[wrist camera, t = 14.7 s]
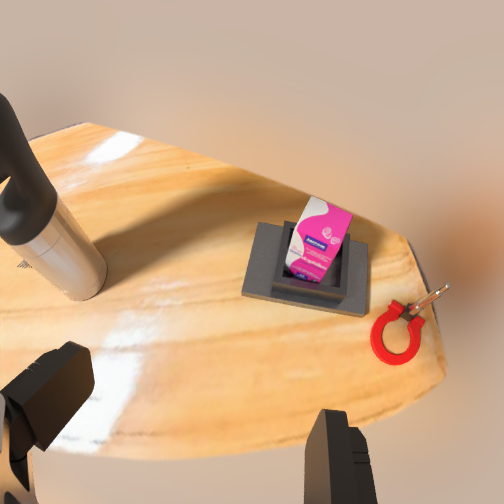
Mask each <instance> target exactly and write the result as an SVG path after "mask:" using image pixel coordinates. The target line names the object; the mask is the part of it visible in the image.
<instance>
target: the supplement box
mask: <svg viewBox="0 0 504 504" xmlns="http://www.w3.org/2000/svg"><path fill="white" fill-rule="evenodd" d="M352 218H353V215H352V214H350V213H348V212H346V211H344V210H342V209H340V208H338V207H336V206H333V205H331V204H329V203H327V202H325V201H323V200H320V199H318V198H316V197H314V196H311V198H310V200H309V201H308V203H307V205H306V207H305V209H304V211H303V213H302V215H301V217H300V219H299V221H298V223H297V225H296V227H295V229H294V232H293V236H292V239H291V243H290V247H289V250H288V254H287V257H286V261H285V264H284V268H283V271H286V272H288V273H290V274H293V275H295V276H297V277H299V278H301V279H303V280H305V281H307V282H312V283H317V284H320V282H321V281H322V279H323V277H324V275H325V274H326V272H327V270H328V268H329V267H330V265H331V263H332V262H333V260H334V258H335V256H336V254H337V253H338V251H339V248H340V246H341V244H342V242H343V239H344V237H345V235H346V232H347V230H348V228H349V225H350V223H351V220H352Z"/></svg>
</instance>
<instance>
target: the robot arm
mask: <svg viewBox="0 0 504 504" xmlns="http://www.w3.org/2000/svg"><path fill="white" fill-rule="evenodd" d="M9 176H11V178H10V180H9V182H8V183H7V185H6V187H5V188H4V190H3V191H2V193H1V195H0V237H1V238H2V239H3V240H4V241H5V242H6V243H7V244H8V245H9V246H10V247H11V248H12V249H13V250H14V251H16V252H17V253H18V254H19V255H20V256H21V257H22V258H23V259H24V260H25V261H26V262H27V263H29V264H30V265H31V266H32V267H33V268H34V269H35V270H36V271H37V272H39V273H40V274H41V275H42V276H43V277H44V278H45V279H47V280H48V281H49V282H50V283H51V284H52V285H54V286H55V287H56V288H57V289H58V290H59V291H61V292H62V293H63V294H64V295H66V296H67V297H68V298H70V299H72V300H74V301H83V300H87V299H89V298H91V297H92V296H94V295H95V294H96V293H97V292H98V291H99V290H100V289H101V287H102V286H103V284H104V282H105V279H106V275H107V265H106V262H105V260H104V258H103V256H102V255H101V254H100V252H99V251H98V250H97V248H96V247H95V246H94V244H93V243H92V242H91V240H90V239H89V238H88V236H87V235H86V234H85V232H84V231H83V229H82V228H81V227H80V225H79V224H78V222H77V221H76V220H75V218H74V217H73V215H72V214H71V212H70V211H69V210H68V208H67V207H66V205H65V204H64V202H63V201H62V199H61V198H60V196H59V195H58V193H57V192H56V190H55V188H54V187H53V185H52V184H51V182H50V181H49V179H48V178H47V176H46V174H45V173H44V171H43V169H42V168H41V166H40V164H39V163H38V161H37V159H36V157H35V156H34V154H33V152H32V150H31V148H30V146H29V144H28V141H27V140H26V137H25V135H24V133H23V131H22V128H21V126H20V124H19V121H18V119H17V117H16V115H15V113H14V110H13V108H12V107H11V105H10V103H9V101H8V100H7V99H6V98H5V97H4V96H3V95H2V94H1V93H0V184H1V183H2V182H3V181H4V180H6V179H7V178H8V177H9ZM94 384H95V380H94V374H93V368H92V362H91V355H90V351H89V349H88V348H86V347H83V346H81V345H79V344H76V343H74V342H72V341H68V342H67V343H65V344H64V345H63V346H62V347H61V348H59V349H58V350H57V349H54V350H52V351H49V352H47V353H44V354H43V355H42V356H40V357H39V358H38V359H37V360H36V361H35V362H34V363H32V364H31V365H30V366H28V367H27V369H25V370H24V371H23V372H21V373H20V374H19V375H18V376H17V377H16V378H15V379H13V380H12V381H11V382H10V383H9V384H8V385H7V386H5V387H4V388H3V389H2V390H1V391H0V504H39V503H38V502H37V499H36V495H35V488H34V479H33V470H32V469H33V468H32V454H31V450H30V449H31V448H32V447H33V445H35V446H36V447H38V448H39V449H41V450H42V451H44V452H45V450H46V449H47V448H48V447H49V445H50V444H51V443H52V442H53V440H54V439H55V438H56V437H57V435H58V434H59V433H60V432H61V430H62V429H63V428H64V427H65V425H66V424H67V423H68V422H69V421H70V419H71V418H72V417H73V416H74V415H75V413H76V412H77V411H78V410H79V408H80V407H81V406H82V405H83V404H84V402H85V401H86V400H87V399H88V398H89V396H90V395H91V394H92V392H93V389H94ZM304 504H378V503H377V498H376V492H375V486H374V480H373V474H372V469H371V465H370V458H369V454H368V447H367V442H366V439H365V437H364V436H363V434H362V433H361V431H360V430H359V429H358V427H349V426H348V420H347V414H346V412H345V411H338V410H328V409H322V410H321V411H320V413H319V415H318V417H317V420H316V422H315V424H314V426H313V428H312V430H311V433H310V435H309V437H308V439H307V443H306V448H305V481H304Z"/></svg>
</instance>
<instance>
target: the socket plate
mask: <svg viewBox="0 0 504 504" xmlns="http://www.w3.org/2000/svg"><path fill="white" fill-rule="evenodd" d="M296 225H297V223H294V222H288V221H285V222H284V227H282V226H277V225H272V224H267V223H261V222H258V225H257V230H256V234H255V238H254V242H253V246H252V250H251V254H250V259H249V263H248V267H247V271H246V275H245V279H244V283H243V288H242V296H246V297H251V298H256V299H261V300H266V301H271V302H276V303H282V304H287V305H292V306H297V307H303V308H308V309H314V310H319V311H325V312H331V313H337V314H343V315H349V316H355V317H361V318H362V317H363V316H364V315H365V310H366V292H367V260H368V244H365V243H361V242H356V241H351V240H350V234H347V233H346V235H345V237H344V239H343V242H342V244H341V246H340V248H339V251H338V253H337V254H336V256H335V258H334V260H333V262H332V263H331V265H330V267H329V268H328V270H327V272H326V274H325V275H324V277H323V279H322V281H321V282H320V284H317V283H312V282H307V281H305V280H303V279H301V278H299V277H297V276H295V275H293V274H290V273H288V272H286V271H283V268H284V264H285V261H286V257H287V254H288V250H289V247H290V243H291V239H292V236H293V232H294V229H295V227H296Z"/></svg>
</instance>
